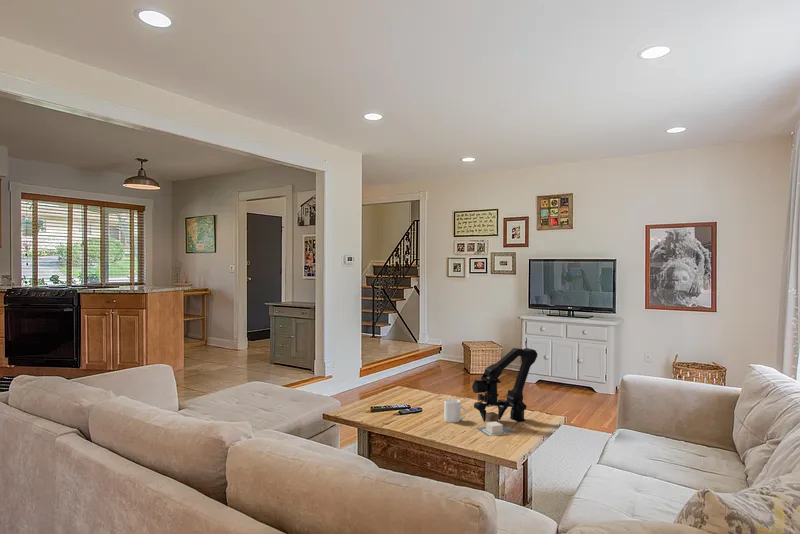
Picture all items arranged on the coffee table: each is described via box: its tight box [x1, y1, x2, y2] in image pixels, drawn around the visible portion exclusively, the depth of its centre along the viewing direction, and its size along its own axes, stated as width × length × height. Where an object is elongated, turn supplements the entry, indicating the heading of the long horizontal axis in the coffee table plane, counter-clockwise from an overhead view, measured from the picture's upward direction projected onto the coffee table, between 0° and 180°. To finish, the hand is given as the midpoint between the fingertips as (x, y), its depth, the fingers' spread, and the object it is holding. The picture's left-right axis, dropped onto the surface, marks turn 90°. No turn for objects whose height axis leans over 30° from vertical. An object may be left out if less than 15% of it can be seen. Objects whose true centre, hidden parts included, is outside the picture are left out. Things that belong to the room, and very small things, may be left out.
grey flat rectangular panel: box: [475, 424, 516, 437], centre depth 237 cm, size 16×12×1 cm
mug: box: [443, 398, 467, 424], centre depth 253 cm, size 9×12×11 cm
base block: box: [485, 421, 504, 435], centre depth 235 cm, size 6×6×4 cm
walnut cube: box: [485, 411, 499, 423], centre depth 251 cm, size 5×5×5 cm
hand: (491, 420), depth 251 cm, fingers open, 9 cm apart
